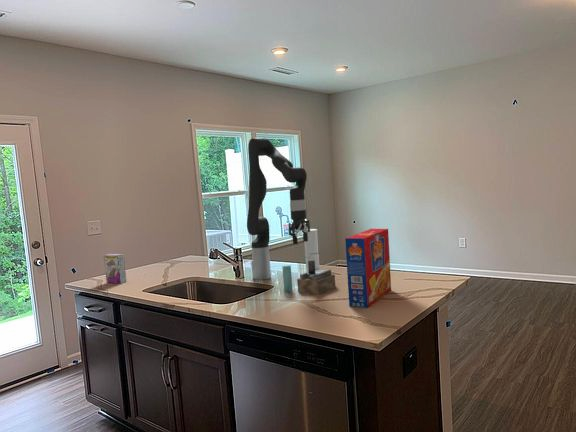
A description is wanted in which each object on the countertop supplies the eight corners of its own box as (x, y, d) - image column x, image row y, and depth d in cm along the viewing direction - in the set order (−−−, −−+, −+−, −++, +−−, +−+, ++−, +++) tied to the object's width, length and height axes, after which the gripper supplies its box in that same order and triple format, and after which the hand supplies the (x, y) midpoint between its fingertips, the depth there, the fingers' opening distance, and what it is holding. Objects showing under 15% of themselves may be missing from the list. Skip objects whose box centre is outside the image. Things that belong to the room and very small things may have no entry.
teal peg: (282, 291, 210) (280, 266, 209) (287, 289, 213) (285, 264, 212) (289, 292, 208) (287, 267, 207) (294, 290, 211) (292, 265, 210)
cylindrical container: (319, 277, 234) (316, 230, 231) (305, 277, 235) (302, 231, 233) (320, 274, 240) (317, 228, 238) (307, 274, 242) (304, 229, 240)
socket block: (298, 291, 208) (296, 274, 207) (314, 284, 219) (313, 268, 218) (319, 294, 201) (318, 276, 200) (335, 286, 212) (334, 269, 211)
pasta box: (367, 308, 175) (364, 238, 173) (349, 306, 180) (345, 238, 177) (391, 290, 199) (388, 228, 197) (374, 289, 203) (371, 228, 201)
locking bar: (306, 278, 207) (305, 261, 207) (318, 273, 216) (317, 257, 215) (314, 279, 204) (313, 262, 204) (327, 274, 213) (326, 257, 212)
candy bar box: (106, 283, 256) (103, 255, 254) (112, 281, 260) (109, 253, 259) (120, 284, 251) (117, 255, 250) (127, 282, 256) (124, 253, 254)
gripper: (300, 208, 221) (302, 240, 222) (283, 210, 209) (285, 244, 210) (312, 207, 216) (315, 240, 217) (295, 210, 205) (298, 245, 206)
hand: (300, 242), depth 214 cm, fingers open, 8 cm apart
